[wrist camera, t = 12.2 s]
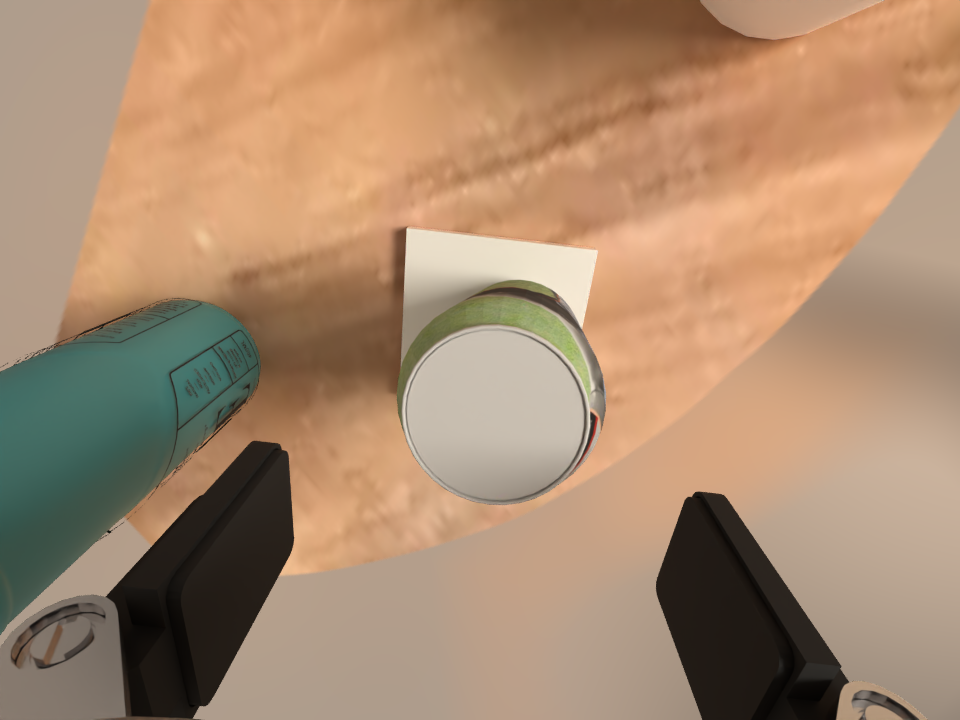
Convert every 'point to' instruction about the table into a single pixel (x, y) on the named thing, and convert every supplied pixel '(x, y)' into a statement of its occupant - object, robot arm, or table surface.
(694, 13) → the table surface
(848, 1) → the cylinder with rectangular tab
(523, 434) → the beverage can
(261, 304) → the table surface
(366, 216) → the table surface
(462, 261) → the coaster
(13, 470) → the beverage bottle
